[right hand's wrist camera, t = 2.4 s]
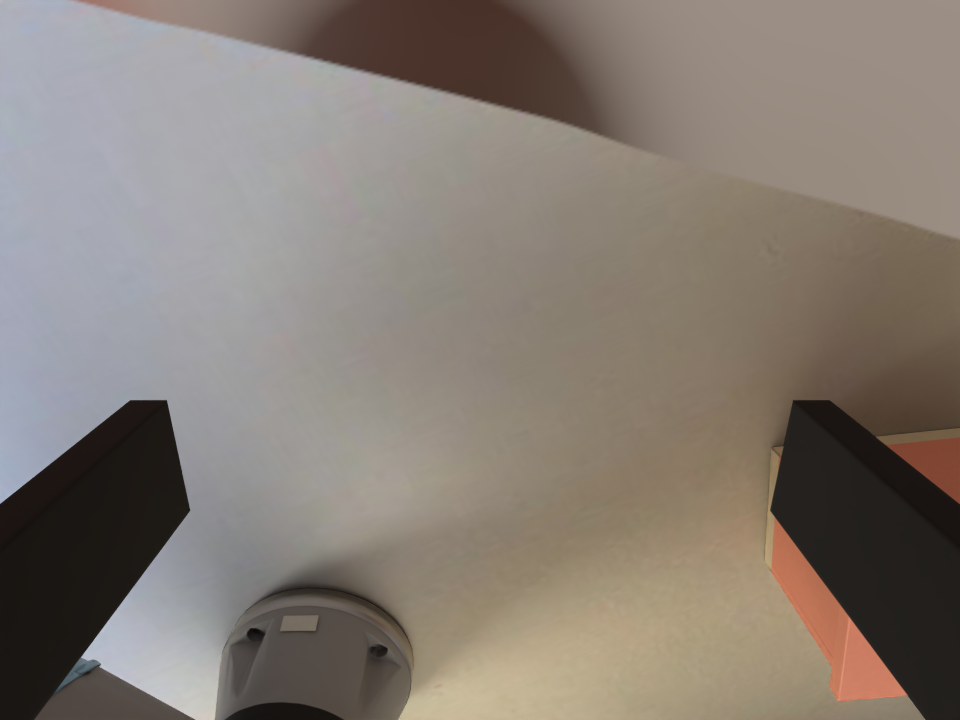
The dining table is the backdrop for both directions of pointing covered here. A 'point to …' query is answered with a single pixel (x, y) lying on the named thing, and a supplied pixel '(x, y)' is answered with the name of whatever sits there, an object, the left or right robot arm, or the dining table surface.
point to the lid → (858, 666)
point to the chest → (936, 454)
